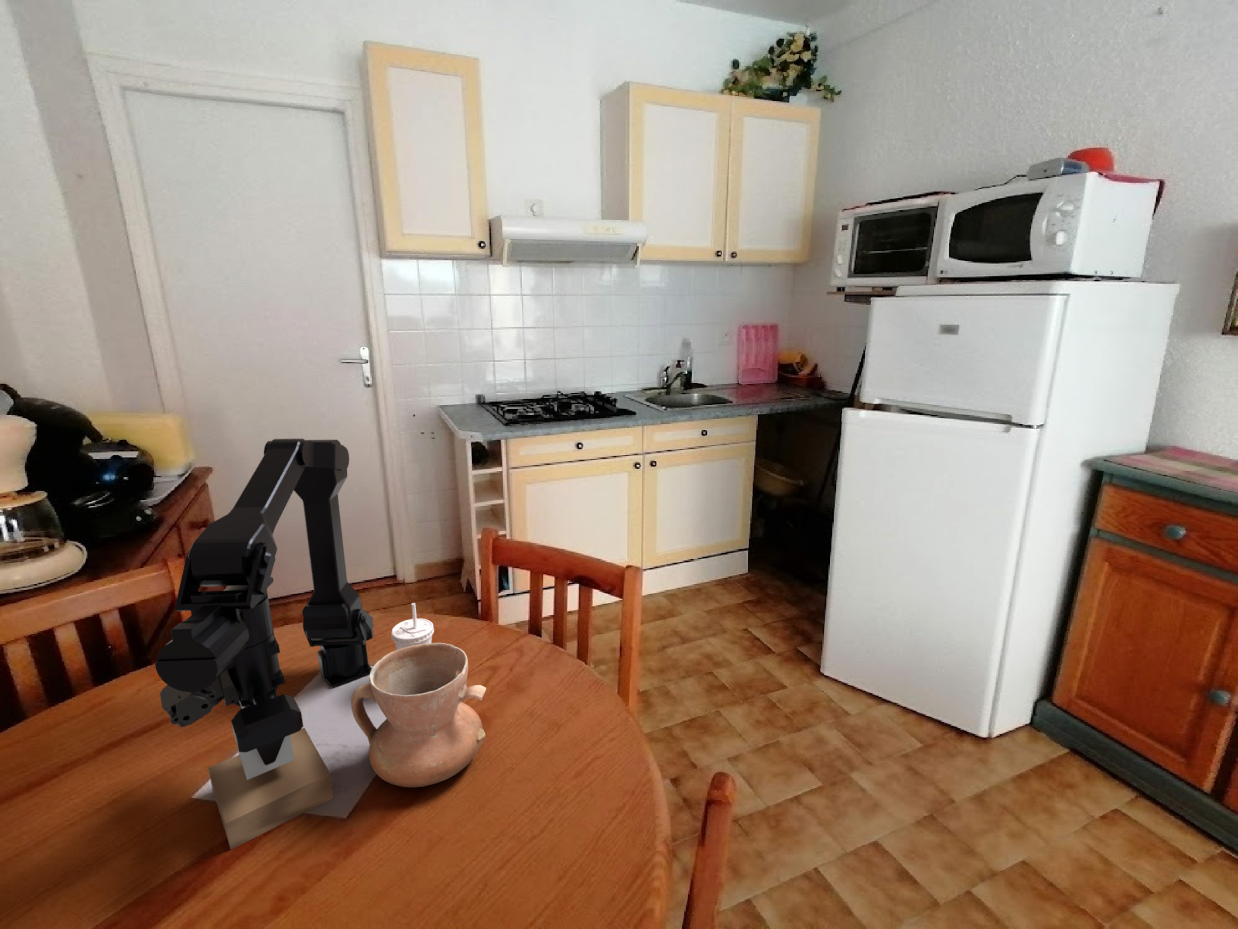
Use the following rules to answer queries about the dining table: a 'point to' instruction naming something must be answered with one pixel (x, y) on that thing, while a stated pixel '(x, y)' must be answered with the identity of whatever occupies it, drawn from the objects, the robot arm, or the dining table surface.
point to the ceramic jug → (420, 715)
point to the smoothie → (412, 631)
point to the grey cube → (256, 765)
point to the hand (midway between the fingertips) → (265, 750)
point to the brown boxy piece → (270, 791)
